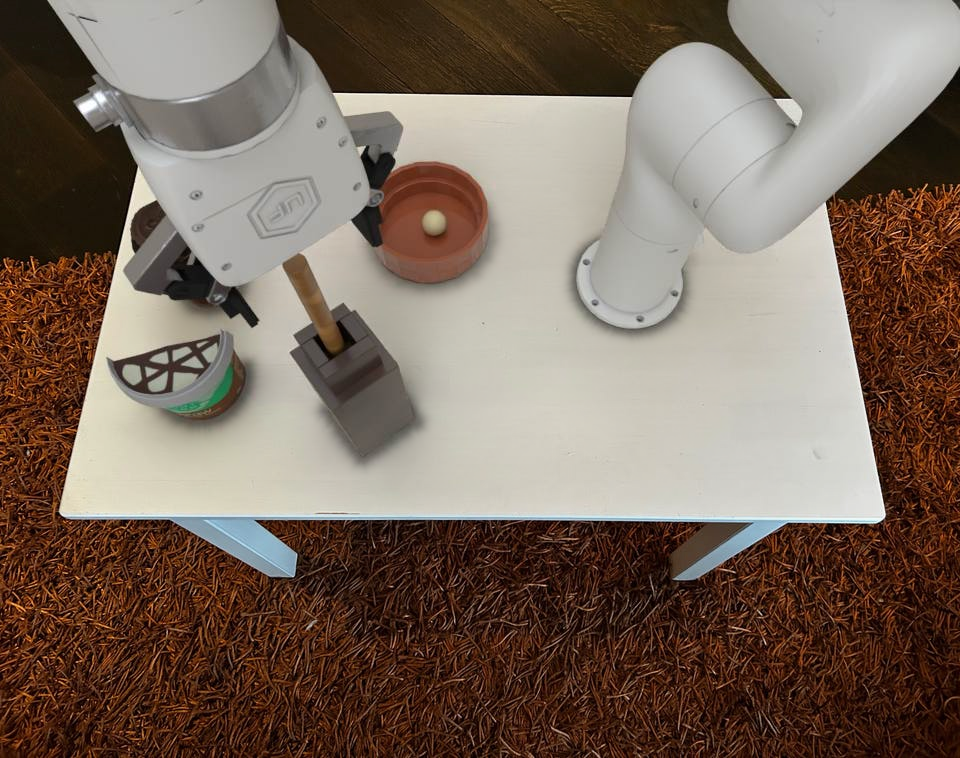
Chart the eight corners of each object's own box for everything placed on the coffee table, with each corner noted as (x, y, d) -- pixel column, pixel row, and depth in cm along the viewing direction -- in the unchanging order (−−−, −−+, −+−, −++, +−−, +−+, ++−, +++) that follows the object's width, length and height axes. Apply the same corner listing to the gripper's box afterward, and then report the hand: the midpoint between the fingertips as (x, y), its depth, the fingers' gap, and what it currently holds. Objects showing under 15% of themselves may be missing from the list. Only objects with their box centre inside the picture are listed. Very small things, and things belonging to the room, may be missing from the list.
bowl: (442, 169, 84) (440, 142, 80) (510, 243, 80) (512, 220, 76) (350, 225, 81) (342, 200, 76) (416, 306, 77) (413, 285, 72)
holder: (379, 373, 74) (346, 287, 55) (415, 420, 72) (393, 347, 53) (327, 409, 72) (275, 332, 54) (362, 457, 71) (321, 396, 52)
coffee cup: (233, 324, 76) (187, 266, 64) (166, 311, 77) (107, 252, 65) (257, 261, 79) (217, 194, 67) (192, 249, 80) (141, 181, 68)
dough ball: (453, 232, 79) (437, 232, 77) (435, 238, 81) (419, 238, 79) (449, 208, 79) (432, 206, 77) (431, 214, 81) (414, 213, 79)
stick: (342, 346, 58) (296, 247, 43) (354, 357, 57) (311, 262, 42) (328, 357, 57) (276, 262, 42) (340, 369, 57) (292, 277, 42)
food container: (154, 443, 71) (105, 415, 62) (148, 392, 73) (100, 358, 64) (266, 413, 72) (235, 381, 63) (257, 364, 74) (226, 326, 65)
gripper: (51, 232, 25) (222, 386, 41) (420, 23, 28) (444, 240, 44) (-26, 110, 27) (166, 301, 43) (326, -70, 30) (381, 168, 46)
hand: (307, 270), depth 44 cm, fingers open, 9 cm apart
